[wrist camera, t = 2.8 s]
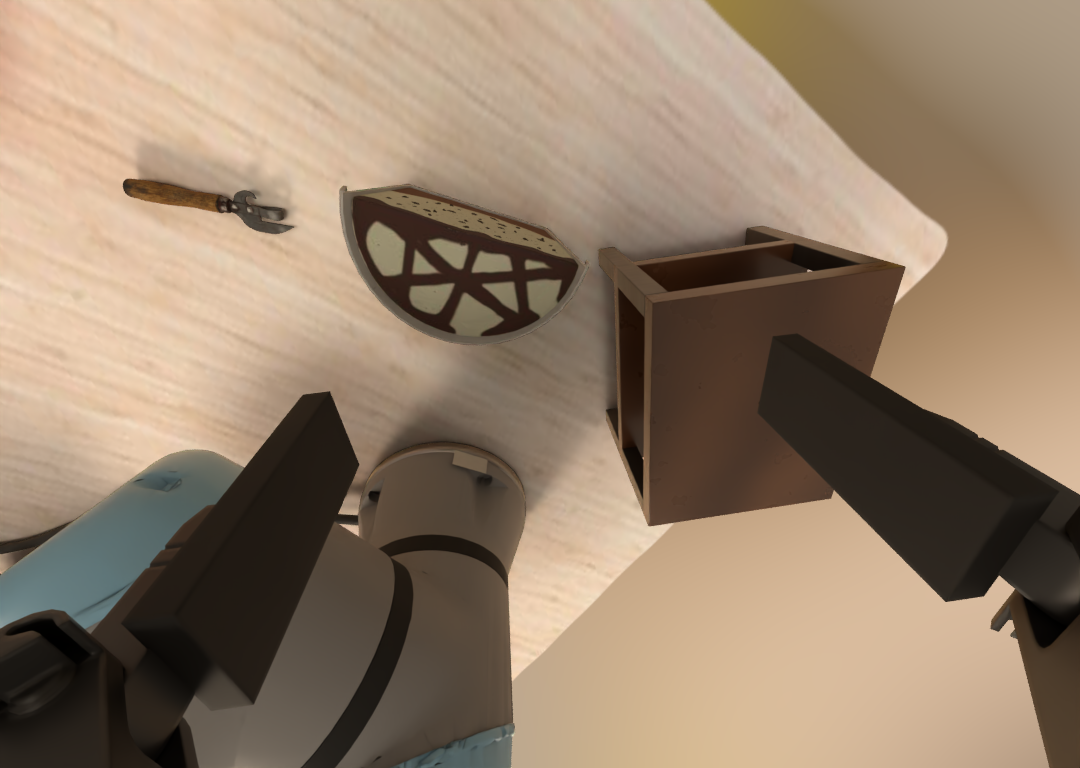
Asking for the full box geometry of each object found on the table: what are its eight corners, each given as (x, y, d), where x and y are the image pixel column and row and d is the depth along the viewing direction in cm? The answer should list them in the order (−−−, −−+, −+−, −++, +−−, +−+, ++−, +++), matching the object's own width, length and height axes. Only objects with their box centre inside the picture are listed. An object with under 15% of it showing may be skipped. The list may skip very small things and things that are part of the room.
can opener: (136, 195, 25) (122, 197, 24) (131, 154, 24) (115, 154, 23) (296, 239, 27) (288, 243, 26) (297, 203, 26) (290, 205, 25)
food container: (372, 270, 29) (318, 322, 20) (384, 176, 26) (327, 188, 17) (541, 315, 32) (557, 378, 23) (567, 234, 29) (597, 270, 20)
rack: (606, 420, 37) (648, 526, 26) (598, 249, 29) (652, 303, 19) (738, 401, 37) (831, 498, 27) (763, 225, 30) (906, 266, 19)
